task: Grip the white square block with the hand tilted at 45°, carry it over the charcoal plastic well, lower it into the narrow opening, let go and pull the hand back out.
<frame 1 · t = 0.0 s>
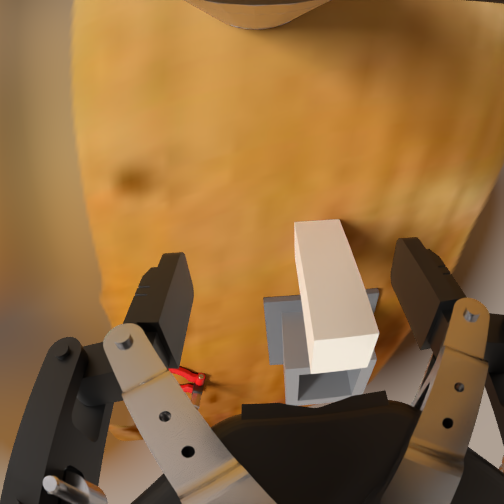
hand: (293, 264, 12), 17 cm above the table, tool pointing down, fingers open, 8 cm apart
white square block: (316, 239, 32), on the table
well: (319, 329, 41), on the table
tow hook: (177, 375, 50), on the table
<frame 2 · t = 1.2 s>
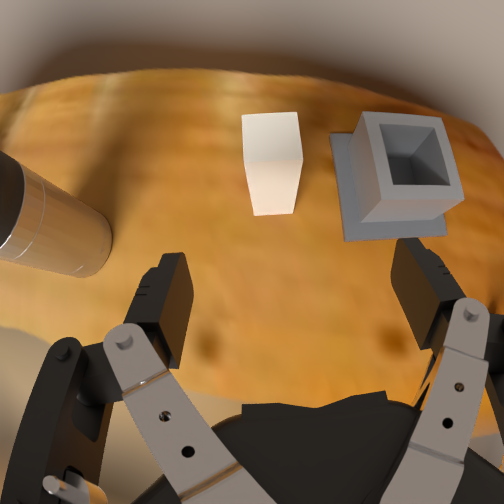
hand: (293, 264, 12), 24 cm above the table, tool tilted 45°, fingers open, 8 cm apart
white square block: (272, 196, 37), on the table
well: (389, 184, 37), on the table
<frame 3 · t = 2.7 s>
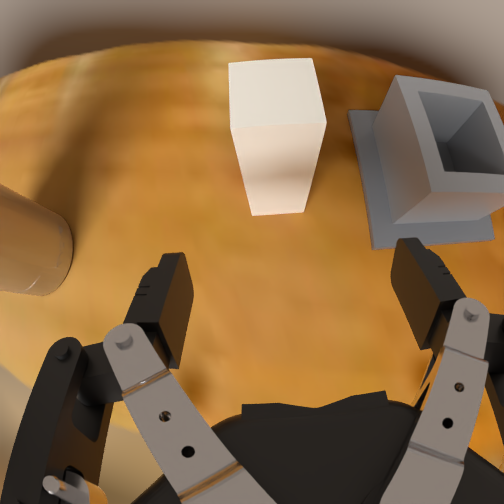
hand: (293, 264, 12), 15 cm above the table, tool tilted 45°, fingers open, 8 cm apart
white square block: (275, 190, 28), on the table
well: (424, 175, 27), on the table
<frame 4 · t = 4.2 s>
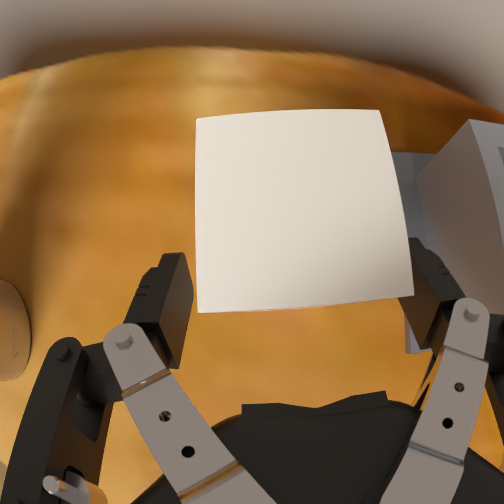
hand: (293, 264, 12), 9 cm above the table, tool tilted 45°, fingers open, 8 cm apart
white square block: (283, 274, 20), on the table
well: (475, 243, 20), on the table
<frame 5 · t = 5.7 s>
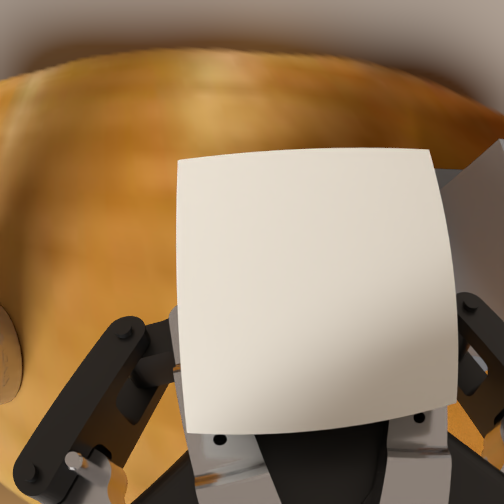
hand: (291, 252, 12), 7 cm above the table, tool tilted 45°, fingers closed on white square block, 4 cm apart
white square block: (288, 304, 18), on the table, touching gripper
well: (492, 267, 18), on the table
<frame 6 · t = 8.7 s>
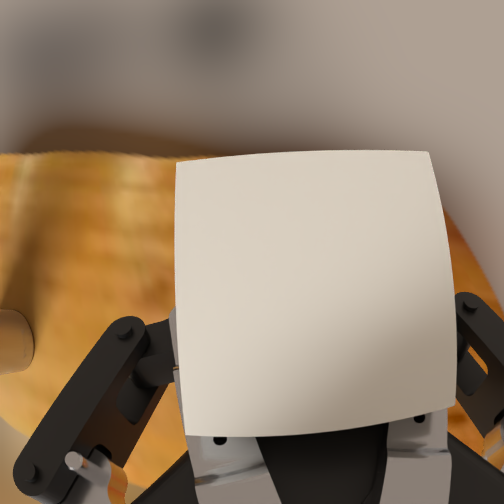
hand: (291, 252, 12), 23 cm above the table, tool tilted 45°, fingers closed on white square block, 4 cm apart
white square block: (288, 305, 18), point 16 cm above the table, touching gripper
when the fingers open (12 cm above the table, at t = 11.1 s): white square block drops 5 cm, resting on well.
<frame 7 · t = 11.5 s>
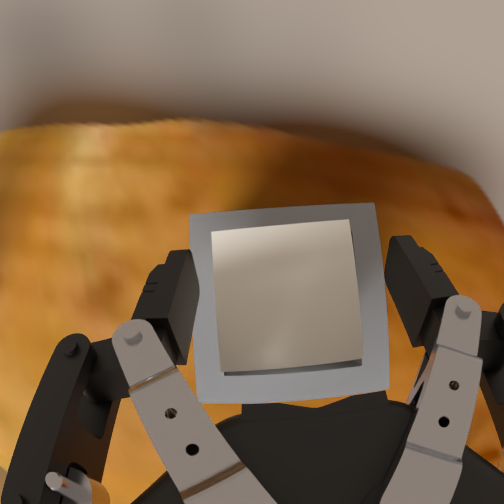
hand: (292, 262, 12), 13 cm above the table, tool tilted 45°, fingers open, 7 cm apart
white square block: (280, 306, 23), point 1 cm above the table, touching well
well: (285, 306, 24), on the table
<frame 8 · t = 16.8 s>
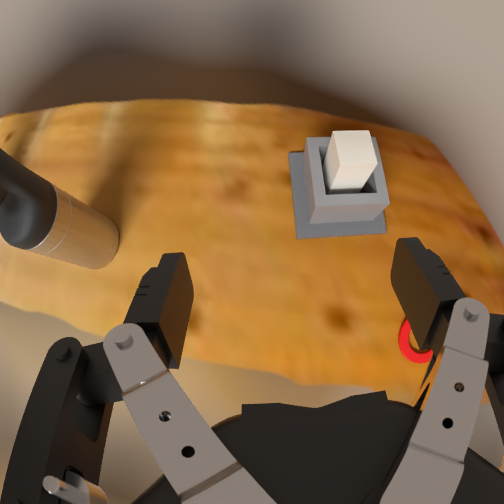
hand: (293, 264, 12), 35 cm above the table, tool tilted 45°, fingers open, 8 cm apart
white square block: (335, 190, 47), point 1 cm above the table, touching well
well: (336, 192, 48), on the table
tow hook: (421, 333, 43), on the table
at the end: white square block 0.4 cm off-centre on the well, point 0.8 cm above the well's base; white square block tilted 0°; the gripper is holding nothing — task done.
